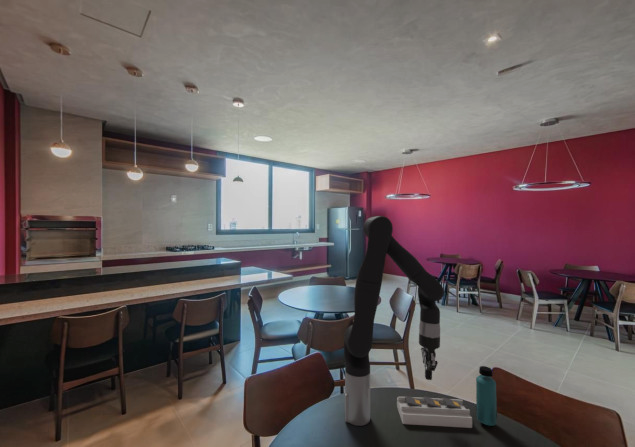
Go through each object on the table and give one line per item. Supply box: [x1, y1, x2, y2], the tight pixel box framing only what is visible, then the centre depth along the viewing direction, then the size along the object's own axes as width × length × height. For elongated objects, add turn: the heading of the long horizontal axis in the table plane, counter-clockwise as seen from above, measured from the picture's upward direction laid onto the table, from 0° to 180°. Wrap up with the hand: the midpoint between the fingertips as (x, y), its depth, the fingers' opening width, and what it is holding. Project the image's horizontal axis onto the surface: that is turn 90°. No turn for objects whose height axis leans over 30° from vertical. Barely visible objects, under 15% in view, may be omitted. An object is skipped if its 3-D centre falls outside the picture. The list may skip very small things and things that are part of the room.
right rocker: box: [442, 396, 462, 409], centre depth 106 cm, size 5×4×1 cm
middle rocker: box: [423, 395, 442, 408], centre depth 106 cm, size 5×4×1 cm
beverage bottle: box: [475, 365, 498, 427], centre depth 102 cm, size 6×7×20 cm
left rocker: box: [404, 395, 422, 407], centre depth 107 cm, size 5×4×1 cm
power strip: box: [396, 396, 473, 429], centre depth 106 cm, size 24×10×5 cm, turn 86°
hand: (428, 378), depth 108 cm, fingers closed
